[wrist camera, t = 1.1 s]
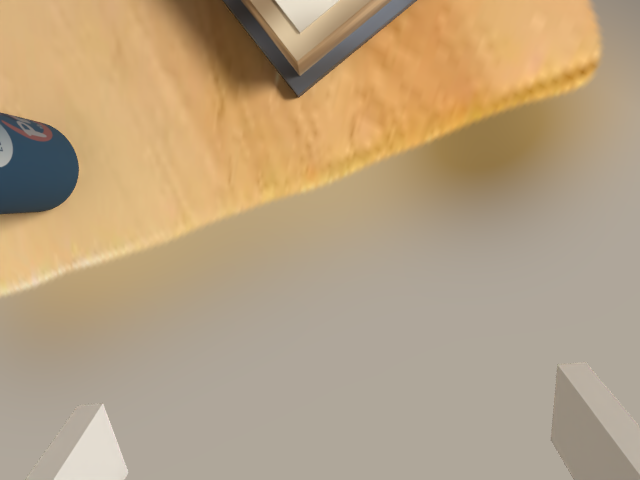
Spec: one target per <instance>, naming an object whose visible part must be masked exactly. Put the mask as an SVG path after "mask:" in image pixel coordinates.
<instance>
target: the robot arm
mask: <svg viewBox="0 0 640 480" xmlns="http://www.w3.org/2000/svg"><path fill="white" fill-rule="evenodd" d="M551 441H552V443H553V445H554V446H555V448H556V450H557V451H558V453H559V455H560V457H561V458H562V460H563V462H564V464H565V465H566V467H567V468H568V470H569V472H570V474H571V476H572V477H573V479H574V480H640V426H639V425H638V424H637V422H636V421H635V420H634V419H633V418H632V416H631V415H630V414H629V413H628V412H627V411H626V409H625V408H624V407H623V406H622V405H621V403H620V402H619V401H618V400H617V399H616V398H615V396H614V395H613V394H612V393H611V392H610V390H609V389H608V388H607V387H606V386H605V385H604V383H603V382H602V381H601V380H600V379H599V377H598V376H597V375H596V374H595V373H594V371H593V370H592V369H591V368H590V367H589V365H588V364H587V363H586V362H581V363H570V364H558V365H557V376H556V387H555V398H554V409H553V420H552V432H551ZM127 474H128V470H127V467H126V464H125V462H124V459H123V456H122V454H121V451H120V448H119V445H118V443H117V440H116V438H115V435H114V432H113V429H112V426H111V424H110V421H109V419H108V416H107V413H106V410H105V408H104V405H103V403H102V404H90V405H78V406H77V408H76V409H75V410H74V412H73V413H72V415H71V416H70V417H69V419H68V420H67V422H66V423H65V425H64V426H63V427H62V429H61V430H60V431H59V433H58V434H57V436H56V437H55V438H54V440H53V441H52V443H51V444H50V445H49V447H48V448H47V450H46V451H45V452H44V454H43V455H42V457H41V458H40V459H39V461H38V462H37V464H36V465H35V466H34V468H33V469H32V471H31V472H30V473H29V475H28V476H27V478H26V479H25V480H125V478H126V476H127Z"/></svg>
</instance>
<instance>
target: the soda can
mask: <svg viewBox="0 0 640 480" xmlns="http://www.w3.org/2000/svg"><path fill="white" fill-rule="evenodd" d="M78 173H79V166H78V160H77V156H76V153H75V151H74V149H73V147H72V145H71V144H70V142H69V141H68V140H67V138H66V137H65V136H64V135H63V134H62V133H60V132H59V131H58V130H56V129H55V128H53V127H51V126H49V125H47V124H44V123H40V122H36V121H32V120H28V119H24V118H20V117H16V116H12V115H8V114H4V113H0V214H10V213H26V212H41V211H46V210H50V209H53V208H55V207H57V206H58V205H60V204H61V203H63V202H64V201H65V200H66V199H67V198H68V197H69V196H70V194H71V193H72V191H73V190H74V188H75V186H76V183H77V179H78Z"/></svg>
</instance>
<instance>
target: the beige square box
mask: <svg viewBox="0 0 640 480" xmlns="http://www.w3.org/2000/svg"><path fill="white" fill-rule="evenodd" d="M416 1H417V0H223V2H224V3H225V4H226V5H227V7H228V8H229V9H230V11H231V12H232V13H233V14H234V16H235V17H236V18H237V20H238V21H239V22H240V23H241V25H242V26H243V27H244V29H245V30H246V31H247V32H248V34H249V35H250V36H251V37H252V39H253V40H254V41H255V43H256V44H257V45H258V46H259V48H260V49H261V50H262V52H263V53H264V54H265V55H266V57H267V58H268V59H269V61H270V62H271V63H272V64H273V66H274V67H275V68H276V69H277V71H278V72H279V73H280V75H281V76H282V77H283V78H284V80H285V81H286V82H287V84H288V85H289V86H290V87H291V89H292V90H293V91H294V93H295V94H296V95H297V96H298V98H299V97H300V96H301V95H302V94H304V93H305V92H306V91H307V90H308V89H310V88H311V87H312V86H313V85H315V84H316V83H317V82H318V81H319V80H321V79H322V78H323V77H324V76H326V75H327V74H328V73H329V72H330V71H332V70H333V69H334V68H335V67H336V66H338V65H339V64H340V63H341V62H343V61H344V60H345V59H346V58H347V57H349V56H350V55H351V54H352V53H354V52H355V51H356V50H357V49H358V48H360V47H361V46H362V45H363V44H364V43H366V42H367V41H368V40H369V39H371V38H372V37H373V36H374V35H375V34H377V33H378V32H379V31H380V30H381V29H383V28H384V27H385V26H386V25H388V24H389V23H390V22H391V21H392V20H394V19H395V18H396V17H397V16H399V15H400V14H401V13H402V12H403V11H405V10H406V9H407V8H408V7H409V6H411V5H412V4H413V3H414V2H416Z"/></svg>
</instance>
